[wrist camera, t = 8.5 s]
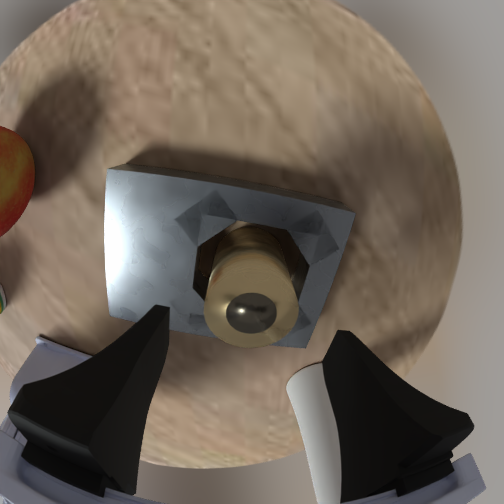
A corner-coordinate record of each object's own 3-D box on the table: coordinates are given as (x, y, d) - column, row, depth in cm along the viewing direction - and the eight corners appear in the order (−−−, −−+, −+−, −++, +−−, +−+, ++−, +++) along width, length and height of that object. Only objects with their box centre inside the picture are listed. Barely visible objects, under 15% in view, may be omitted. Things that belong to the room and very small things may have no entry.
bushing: (210, 282, 19) (198, 341, 13) (221, 221, 17) (210, 263, 12) (273, 293, 19) (284, 353, 14) (290, 234, 18) (311, 281, 12)
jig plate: (121, 296, 19) (109, 315, 17) (124, 163, 15) (107, 168, 13) (299, 326, 21) (305, 348, 18) (341, 202, 17) (355, 213, 14)
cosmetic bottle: (356, 379, 24) (416, 570, 4) (307, 406, 25) (340, 589, 5) (327, 352, 22) (393, 594, 2) (273, 383, 23) (296, 607, 3)
